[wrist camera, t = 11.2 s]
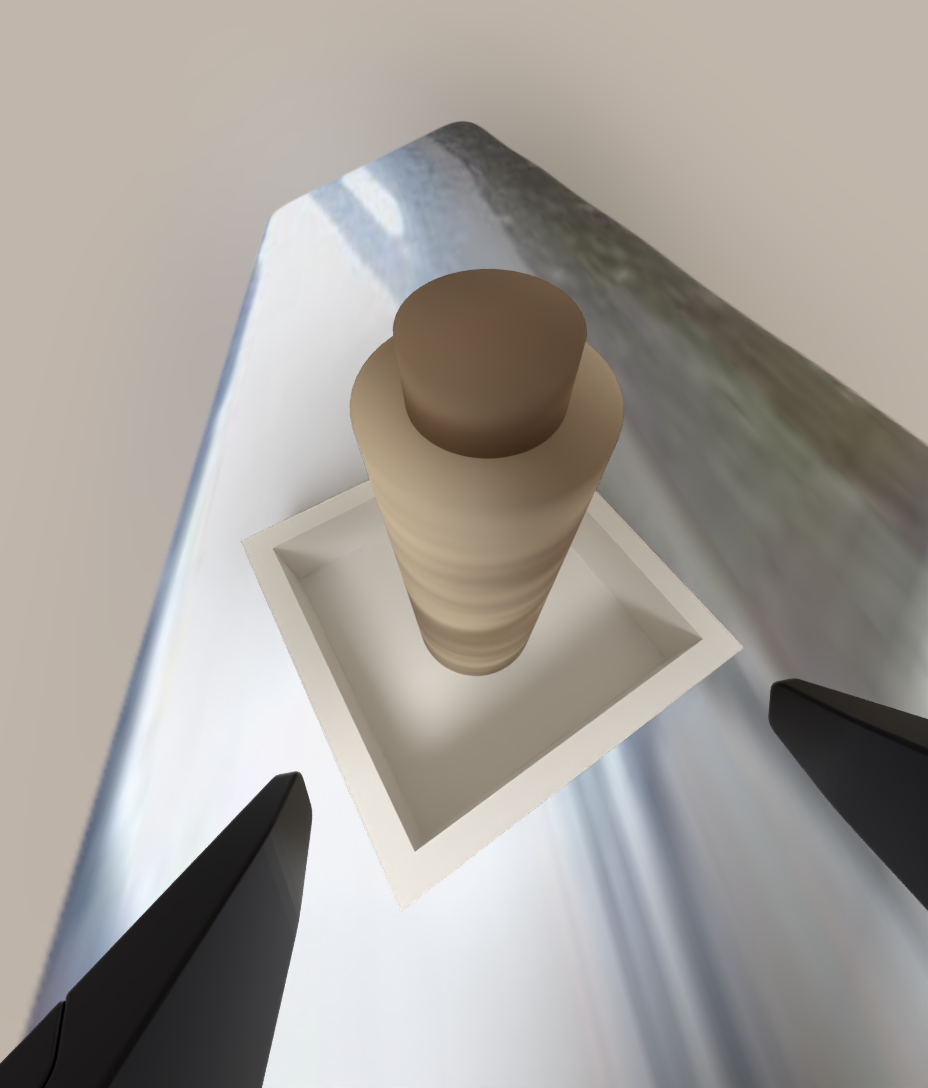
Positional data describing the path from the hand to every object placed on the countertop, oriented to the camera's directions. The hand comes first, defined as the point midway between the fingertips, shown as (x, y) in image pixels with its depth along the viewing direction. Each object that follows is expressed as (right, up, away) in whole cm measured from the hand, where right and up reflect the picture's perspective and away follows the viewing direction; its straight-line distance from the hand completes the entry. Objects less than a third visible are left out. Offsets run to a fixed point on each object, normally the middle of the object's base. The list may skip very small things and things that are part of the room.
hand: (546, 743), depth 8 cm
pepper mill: (-1, 0, +11) cm, 11 cm away
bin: (-1, 0, +12) cm, 12 cm away
